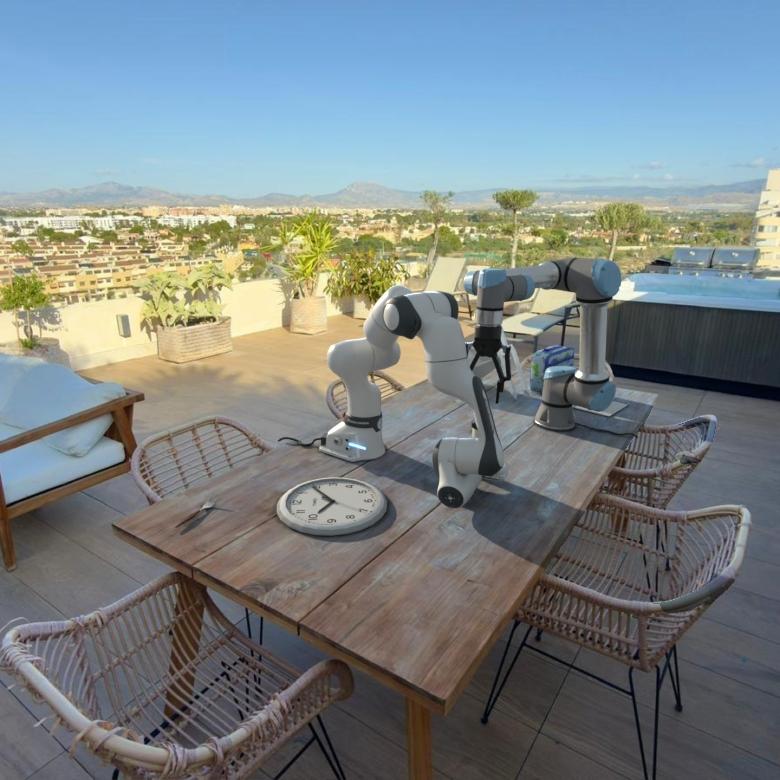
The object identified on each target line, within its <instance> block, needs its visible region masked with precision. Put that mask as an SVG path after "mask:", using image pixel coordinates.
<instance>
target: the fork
mask: <svg viewBox="0 0 780 780" xmlns="http://www.w3.org/2000/svg"><path fill="white" fill-rule="evenodd" d="M219 496H220V494H218V493H213V492H212V493H211V494H210V497H208V500H207V501H206V502H205V503H204V504H203V505H202V507H201V508H200V509H198V510H196V511H194V512H193V513H191V514H189V515H188V516H187V517H185V518H184V519H183V520H182V521H181V522H179V523H178V524H177V525H175V527H174V528H175V529H177V528H179V527H180V526H182V525H184V524H185V523H187V522H189V521H190V520H192V519H194V517H196V516H197V515H198V514H199V513H201V511H203V510H204V509H210V508H212V507H213V506H214V505H215V504H216V502H217V500H218V498H219Z"/></svg>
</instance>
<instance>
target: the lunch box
mask: <svg viewBox="0 0 780 780" xmlns="http://www.w3.org/2000/svg"><path fill="white" fill-rule="evenodd" d="M574 363H575V348H573V347H571V346H570V347H568V346H563V345H551V346H548V347H544V348H543V349H539V350H536V351H535V352H534V354H533V356H532V358H531V363H530V374H529V391H532V392H536V393H540V394H542V391H543V381H544V379H543V378H544V375H545V371H546V369H547V368H549V367H555V366H571V367H574Z"/></svg>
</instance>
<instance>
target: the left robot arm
mask: <svg viewBox="0 0 780 780" xmlns="http://www.w3.org/2000/svg"><path fill="white" fill-rule="evenodd" d="M459 308H460V307H459V303H458V300H457V298H456V297H455V296H454V295H453V294H452V293H450V292H447V291H442V290H435V291H418V292H413V291H412V290H411V289H410V288H408V287H407V286H404V285H401V284H396V285H392V286H390V287H389V288H388V289H387V290H386V291H385V292H383V294H382V295H381V296H380V297H379V298H378V300H377V301H376V302H375V304H374V306H373V307H372V308H371V310H370V312H369V314H368V315H367V317H366V318H365V320H364V322H363V324H362V325H363V326H362V331H363V335H364V337H361V338H354V339H346V340H342V341H339V342H337V343H333V344H331V345H330V347H329V348H328V349H327V353H326V364H327V366H328V368H329V370H330V371H331V372H332V373H333V374H334V375H336V376H337V377H339V379H340V380H341V381H342V382H343V385H344V387H345V390H346V402H347V409H346V410H345V411H343V413H341V414H340V419H342V421H340V422H339V423H337V424H336V425H334V426H333V427H332V428H330V429H329V431H328V432H324V433H323V435H321V436H320V437H316V438H313V440H311V442H309V443H302V441H301V440H299V439H296V438H294V437H289V436H283V437H280V438H279V439H277V442H281V441H283V440H290V441H293V442H296V443H298V444H299V446H302V447H309V446H312V445H314V443H315V442H317V441H320V445H319V449H318V451H319V452H320V453H324V454H327V455H330V456H332V457H335V458H339V459H340V460H341V459H342V460H344V461H347V462H351V463H355V462H360V461H366V460H367V461H368V460H374V459H378V458H380V457H383V456H384V455H385V454H386V448H385V444H384V440H383V431H382V429H383V411H382V390H381V389H380V387H379V386H378V385H377V384H375V383H374V382H372V381H369V377H368V373H370V372H376V371H382V370H386V369H389V368H391V367H393V366H396V365H397V364H398V363H399V361H400V359H401V355H402V353H401V352H402V351H401V347H400V344H399V343H398V339H399V338H400V337H402V338H403V337H404V338H406V339H408V340H414V339H415V337H417V338H418V339H419V340H421V342H422V344H423V355H424V366H425V373H426V378H427V380H428V382H429V384H430V385H431V386H432V387H433V388H434V389H436V390H437V391H439V392H440V393H442V394H445V395H448V396H450V397H453V398H456V399H459V400H461V401H463V402H464V403H466V404H467V405H468V406H469V408H470V409H471V411H472V413H473V419H474V418H475V422H476V425H477V429H478V433H479V438H472V437H462V436H461V437H460V436H458V437H457V436H454V437H453V436H452V437H451V436H450V437H446V436H445V437H442V438H441V439H439V441H438V442H437V443H436V445H435V447H434V449H433V450H432V457H431V458H432V467H433V470H434V473H435V474H436V476H437V478H438V480H439V481H438V486H437V491H436V495H437V499H438V501H439V502H440V503H441V504H442V505H443V506H445V507H447V508H450V509H459V508H462V507H464V506H465V505H466V504H467V503H468V502H469V501H470V499H471V498H472V497H473V495H474V494H475V491H476V489H477V488H478V487H479V485H480V483H481V482H482V480H487V481H492V482H501V481H504V480H505V479H506V477H507V475H509V467H510V466H509V465H510V464H509V463H508V462H507V461H505V453H504V449H503V445H502V443H501V439H500V437H499V434H498V431H497V426H496V424H495V420H494V415H493V412H492V409H491V405H490V401H489V397H488V394H487V391H486V388H485V385H484V383H483V380H482V381H481V379H480V378H478V377H476V376H475V375H474V374H473V372H472V371H471V369H470V367H469V364H468V360H467V351H466V344H465V342H466V340H465V336H464V332H463V327H462V325H461V323H460V321H459V320H458V317H459V311H460V309H459Z"/></svg>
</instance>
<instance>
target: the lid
mask: <svg viewBox="0 0 780 780" xmlns="http://www.w3.org/2000/svg"><path fill="white" fill-rule="evenodd" d="M470 426H471V428H474V429H476V430H478V429H477V425H476V422H475V418H474V417H473V418H472V419H471V425H470Z"/></svg>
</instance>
